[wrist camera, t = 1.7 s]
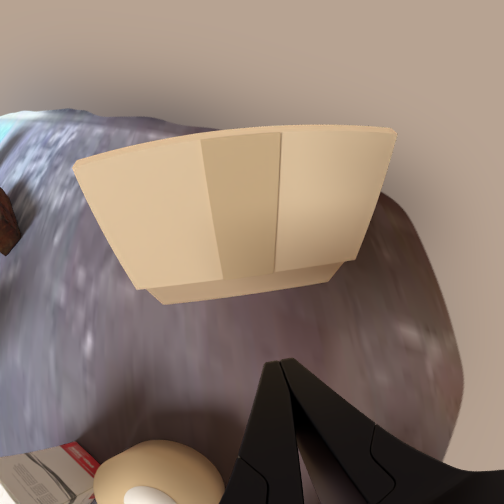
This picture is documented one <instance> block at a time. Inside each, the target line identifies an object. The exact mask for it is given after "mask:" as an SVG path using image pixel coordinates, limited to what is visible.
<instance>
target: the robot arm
mask: <svg viewBox="0 0 504 504" xmlns="http://www.w3.org/2000/svg"><path fill="white" fill-rule="evenodd" d="M298 449H299V451H300V454H301V456H302V459H303V461H304V464H305V466H306V469H307V471H308V474H309V476H310V479H311V481H312V483H313V486H314V488H315V491H316V493H317V496H318V498H319V500H320V503H321V504H504V470H497V471H496V470H495V471H478V472H477V471H475V472H474V471H466V470H461V469H457V468H454V467H452V466H450V465H447V464H445V463H443V462H441V461H439V460H437V459H435V458H433V457H430V456H428V455H426V454H424V453H422V452H420V451H418V450H416V449H415V448H413V447H411V446H409V445H407V444H406V443H404V442H402V441H400V440H399V439H397V438H396V437H394V436H393V435H391V434H390V433H388V432H387V431H386V430H384V429H383V428H382V427H380V426H379V425H377V424H376V425H375V422H373V421H372V420H371V419H369V418H368V417H367V416H365V415H364V414H363V413H361V412H360V411H359V410H357V409H356V408H355V407H354V406H352V405H351V404H350V403H348V402H347V401H346V400H345V399H343V398H342V397H341V396H340V395H338V394H337V393H336V392H335V391H333V390H332V389H331V388H330V387H328V386H327V385H326V384H325V383H323V382H322V381H321V380H320V379H318V378H317V377H316V376H315V375H314V374H312V373H311V372H310V371H309V370H308V369H306V368H305V367H304V366H303V365H302V364H300V363H299V362H298V361H297V360H296V359H294V358H288V359H282V360H280V361H271V362H266V363H265V364H264V366H263V370H262V374H261V378H260V381H259V385H258V389H257V392H256V396H255V399H254V403H253V406H252V410H251V413H250V417H249V420H248V424H247V427H246V430H245V434H244V437H243V440H242V444H241V447H240V450H239V454H238V458H237V459H236V463H235V466H234V469H233V472H232V474H231V477H230V480H229V482H228V485H227V487H226V489H225V492H224V494H223V496H222V498H221V500H220V502H219V504H304V496H303V487H302V479H301V471H300V462H299V454H298Z"/></svg>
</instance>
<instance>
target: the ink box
mask: <svg viewBox="0 0 504 504" xmlns="http://www.w3.org/2000/svg"><path fill="white" fill-rule="evenodd" d="M100 466H101V465H100V464H99V463H98V462H97V461H96V460H95V459H94V458H93V457H92V456H91V455H90V454H89V453H88V452H86V451H85V450H84V449H83V448H82V447H81V446H80V445H79V444H78V443H77V442H76V441H74V442H71V443H68V444H64V445H60V446H56V447H52V448H48V449H44V450H39V451H35V452H30V453H24V454H19V455H12V456H6V457H0V504H90V503H91V502H92V501H93V500H94V498H95V495H94V490H93V480H94V476H95V474H96V471H97V470H98V468H99V467H100Z"/></svg>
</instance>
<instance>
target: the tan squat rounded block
mask: <svg viewBox="0 0 504 504" xmlns="http://www.w3.org/2000/svg"><path fill="white" fill-rule="evenodd" d="M93 490H94V495H95V499H96V501H97V504H219V502H220V500H221V498H222V496H223V494H224V492H225V486H224V482H223V479H222V477H221V475H220V473H219V472H218V470H217V469H216V467H215V466H214V465H213V464H212V463H211V462H210V461H209V460H208V459H207V458H206V457H205V456H203V455H202V454H201V453H199V452H198V451H196V450H194V449H192V448H190V447H188V446H186V445H184V444H181V443H178V442H174V441H169V440H149V441H144V442H141V443H139V444H137V445H135V446H133V447H131V448H129V449H127V450H126V451H124V452H122V453H120V454H118V455H116V456H114V457H112V458H110V459H108V460H107V461H105V462H104V463H103V464H102V465H101V466H100V467H99V468H98V470H97V471H96V474H95V476H94V480H93Z"/></svg>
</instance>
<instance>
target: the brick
mask: <svg viewBox="0 0 504 504" xmlns="http://www.w3.org/2000/svg"><path fill="white" fill-rule="evenodd" d="M20 238H21V233H20V230H19V228H18V225H17V220H16V217H15V214H14V212H13V209H12V206H11V203H10V199H9V197H8V196H7V195H6V193H5V192H4V191H3V189H2V188H1V187H0V252H1V253H2V254H3V255H5V256H7V254H8V253H9V252H10V251H11V249H12V248H13V247H14V245H15V244H16V243H17V242H18V241H19V240H20Z"/></svg>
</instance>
